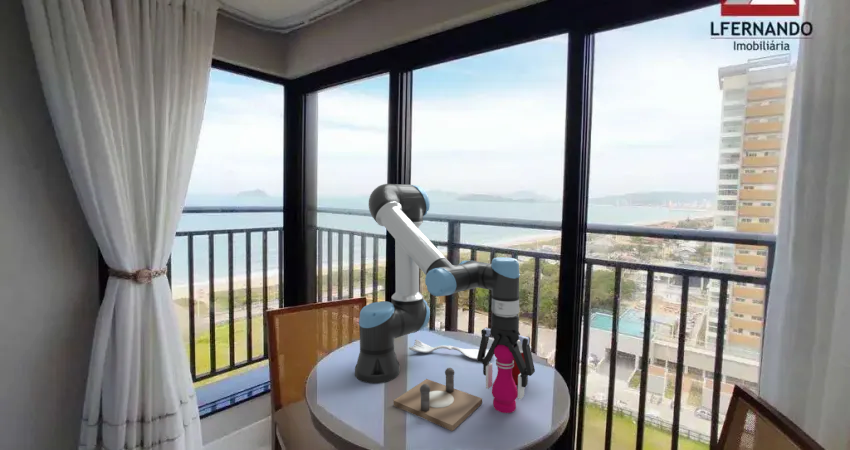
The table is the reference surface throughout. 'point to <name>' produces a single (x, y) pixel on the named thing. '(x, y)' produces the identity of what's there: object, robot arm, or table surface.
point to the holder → (439, 402)
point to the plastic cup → (515, 369)
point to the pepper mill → (504, 381)
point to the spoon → (426, 348)
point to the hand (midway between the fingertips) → (504, 391)
